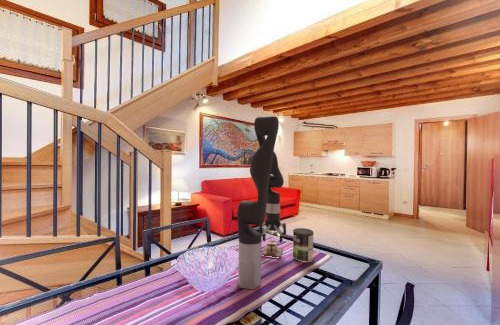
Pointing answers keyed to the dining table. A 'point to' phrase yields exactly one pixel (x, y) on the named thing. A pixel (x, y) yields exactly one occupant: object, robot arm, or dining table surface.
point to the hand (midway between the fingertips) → (272, 241)
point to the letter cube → (271, 246)
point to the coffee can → (303, 244)
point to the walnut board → (277, 254)
